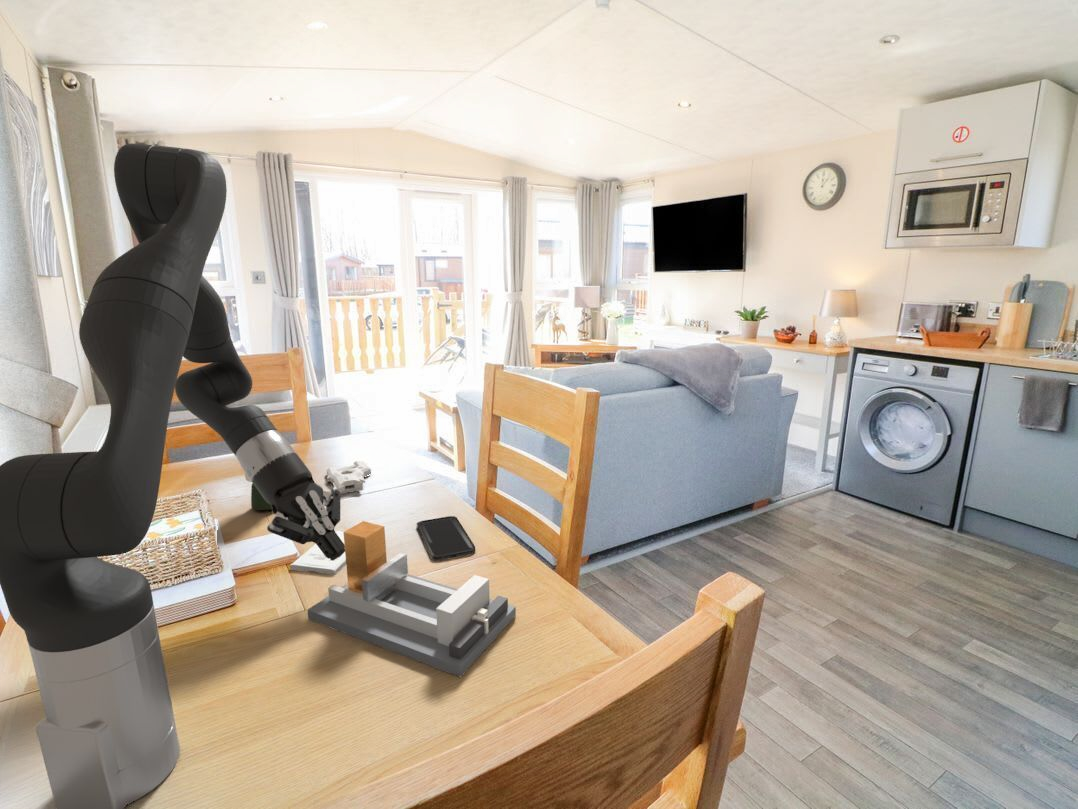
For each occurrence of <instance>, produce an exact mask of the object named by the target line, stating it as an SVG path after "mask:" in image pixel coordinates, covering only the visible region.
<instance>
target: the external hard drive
mask: <svg viewBox="0 0 1078 809" xmlns="http://www.w3.org/2000/svg"><path fill="white" fill-rule="evenodd" d="M334 531H335V532H336V534H337V535H338V536H339V538H340V539H341V540H342V542H343V543H344V531H339V530H334ZM344 545H345V544H344ZM345 566H346V555H345V552H344V553H343V554H342V555H341V556H340V557H338V558H337V559H335V560H333V561H332V560H331V559H330V558H329V559H328V558H327V557H325V555H324V553H323V552H322V551H321V550H320V548H319V547H318V546H317V544H316V543H314V545H312V546H311V547H310V548H308V550H306V551H305V552H304V553H303V554H302V555H300V556H299V557H298V558H297V559H296V560H294V561H293V562H292V563H290V565H289V568H290V570H292V571H299V572H315V573H318V574H326V575H333V576H335V575H337V574H338V573H339V571H341V570H342V568H344V567H345Z"/></svg>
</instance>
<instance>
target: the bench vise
mask: <svg viewBox="0 0 1078 809" xmlns="http://www.w3.org/2000/svg"><path fill="white" fill-rule="evenodd" d="M346 584H348V582H347V583H346ZM346 584H344V585H343V586H345V585H346ZM343 586H338V585H335V584H332V585H331V586H329V587H328V588H327V590H328V596H326V597H324V598H322V600H320V601H319V602H317V603H315V604H314V605H312V606H311V607H310V608H308V609H307V619H308V620H310V621H312V622H315V623H317V624H320V625H323V626H325V627H328V628H331V629H332V630H333V629H334V630H337V631H339V632H341V633H344V634H347V635H348V636H352V637H355V638H356V639H360V640H362V641H365V642H367V643H370V644H372V645H375V646H378V647H380V648H383V649H386V650H388V651H390V652H393V653H397V654H399V655H402V656H404V657H406V658H410V659H412V660H414V661H418V662H420V663H423V664H425V665H427V664H428V665H427V666H430V667H433V668H435V667H436V668H435V669H438V670H440V669H441V671H443V670H444V671H443V672H446V671H447V672H446V673H448V672H449V673H448V674H451V673H452V674H451V675H454V674H455V675H454V676H456V675H458V676H457V677H459V676H461V677H462V676H463V675H464V674H465V673H466V672H467V671H468V670H467V669H469V668H470V667H471V666H472V665H473V664H474V663H475V662H474V661H475V660H476V661H477V660H478V658H479V657H481V655H482V654H483V653H484V652H485V651H486V650H487V649H488V647H489V646H490V645H491V644H492V643H493V642H494V641H495V639H496V638H497V637H499V635H500V634H501V633H502V632H503V631H504V629H505V628H507V626H508V625H509V624H510V623H511V622H512V621H513V620H514V619H515V617H516V615H517V614H516V613H517V612H516V606H514V605H512V604H509V601H508V600H509V599H508V597H504V596H500V595H497V596H496V597H495V598H494V599H491V598H490V578H486V577H483V576H480V575H476V574H473V576H472V577H471V578H469V579H468V580H467V581H466V582H465V583H463V584H462V585H461V586H460V587H459V588H455V587H452V586H450V585H449V586H448V585H446V584H445V585H444V584H442V583H438V582H435V581H432V580H430V579H426V578H423V577H418V576H415V575H412V574H410V573H407V574H406V575H405V576H403V577H402V578H401V579H399V580H398V581H397V582H395V587H396V589H395V590H394V591H392V592H391V593H390V594H388V595H387V596H386V597H384V598H383V599H382V600H377V599H374V598H373V599H372V600H371V601H369V602H368V601H365V600H363V595H362V594H359V593H356V592H353V591H350V590H347V589H344V588H342V587H343ZM493 640H494V641H493ZM484 650H485V651H484ZM482 652H483V653H482ZM472 663H473V664H472ZM466 670H467V671H466ZM465 671H466V672H465ZM464 672H465V673H464ZM463 673H464V674H463Z"/></svg>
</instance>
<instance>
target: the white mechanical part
mask: <svg viewBox="0 0 1078 809" xmlns="http://www.w3.org/2000/svg"><path fill="white" fill-rule="evenodd" d="M369 474H370V475H371V474H372V469H371V467H370V466H369V465H368V463H367V462H366V461H358V460H357V461H354V462H353V464H351V465H347V466H342V467H338V468H336V466H331V467H329V468H327V469H326V475H327V483H329V482H330V483H331V484H333V488H332V490H333V491H334V490H338V491H339V492H340V495H342V494H349V493H348V492H350V493H354V491H355V492H359V491H362V490H363V489H364V486H363V484H364V483H366V480H365V478H366V477H365V476H367V475H369ZM370 475H369V476H370ZM364 477H365V478H364ZM367 477H368V476H367Z"/></svg>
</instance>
